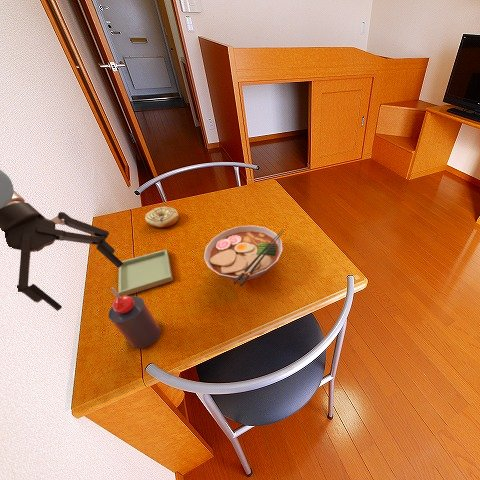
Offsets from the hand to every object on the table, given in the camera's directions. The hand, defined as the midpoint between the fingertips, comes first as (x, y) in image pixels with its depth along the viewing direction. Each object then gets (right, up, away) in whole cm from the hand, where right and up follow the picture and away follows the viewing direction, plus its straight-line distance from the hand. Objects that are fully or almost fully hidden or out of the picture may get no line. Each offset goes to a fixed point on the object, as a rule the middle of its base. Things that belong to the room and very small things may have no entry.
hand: (92, 285), depth 61 cm
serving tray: (-2, 0, +22) cm, 22 cm away
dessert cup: (+8, -13, +6) cm, 17 cm away
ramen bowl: (+28, +2, +26) cm, 38 cm away
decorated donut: (-8, +17, +41) cm, 45 cm away
